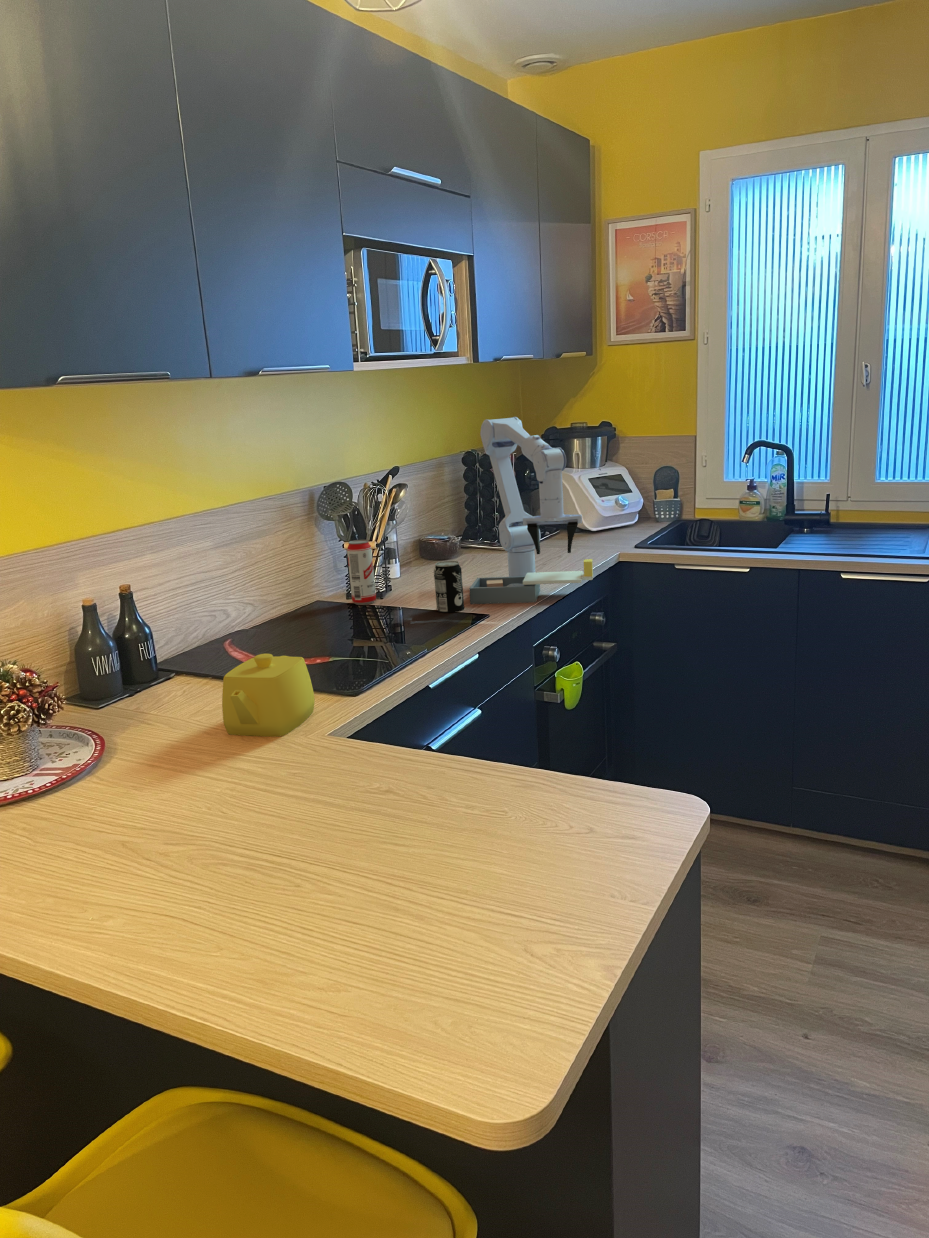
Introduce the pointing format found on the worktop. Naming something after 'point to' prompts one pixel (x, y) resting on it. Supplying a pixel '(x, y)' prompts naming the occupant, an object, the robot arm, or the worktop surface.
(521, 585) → the brown cube
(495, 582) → the tan block
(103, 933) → the worktop surface
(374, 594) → the beer can
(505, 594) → the tub
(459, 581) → the beverage can
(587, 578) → the lid
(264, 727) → the teapot
